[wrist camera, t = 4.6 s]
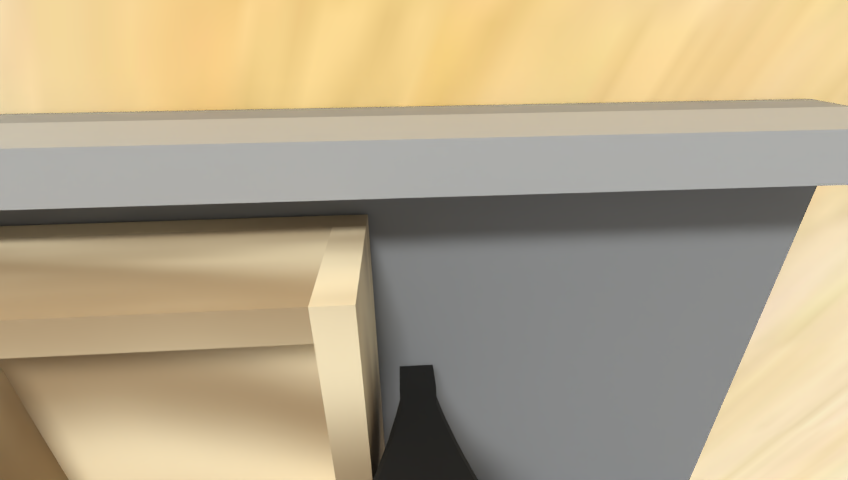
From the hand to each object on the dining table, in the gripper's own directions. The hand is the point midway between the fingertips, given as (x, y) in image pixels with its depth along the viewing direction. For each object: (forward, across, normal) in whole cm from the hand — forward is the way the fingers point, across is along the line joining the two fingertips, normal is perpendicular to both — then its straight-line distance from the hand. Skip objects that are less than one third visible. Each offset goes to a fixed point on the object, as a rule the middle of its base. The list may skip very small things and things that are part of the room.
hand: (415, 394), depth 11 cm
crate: (+1, +6, 0) cm, 6 cm away
